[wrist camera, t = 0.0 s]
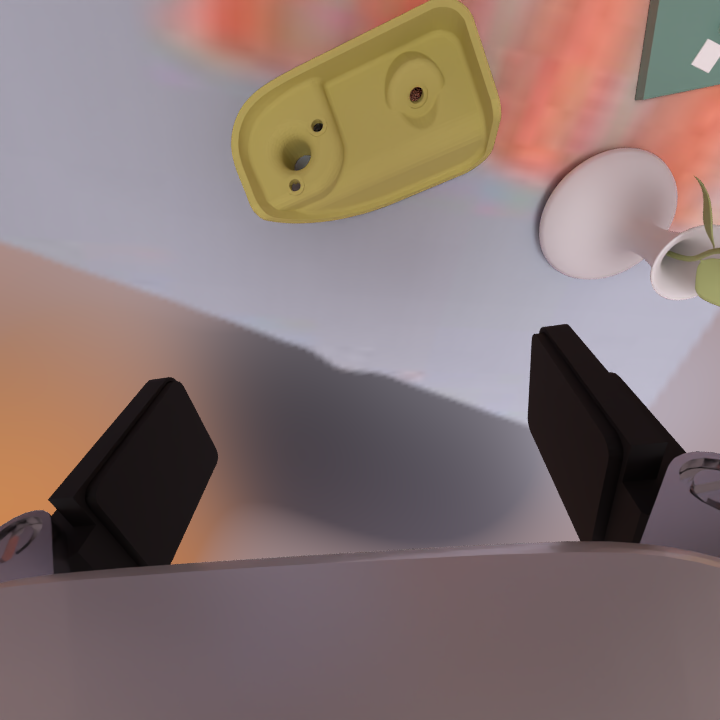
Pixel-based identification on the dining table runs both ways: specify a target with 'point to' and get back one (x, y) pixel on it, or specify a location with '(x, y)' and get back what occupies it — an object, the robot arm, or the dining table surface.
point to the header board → (680, 47)
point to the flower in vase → (629, 226)
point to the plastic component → (370, 119)
